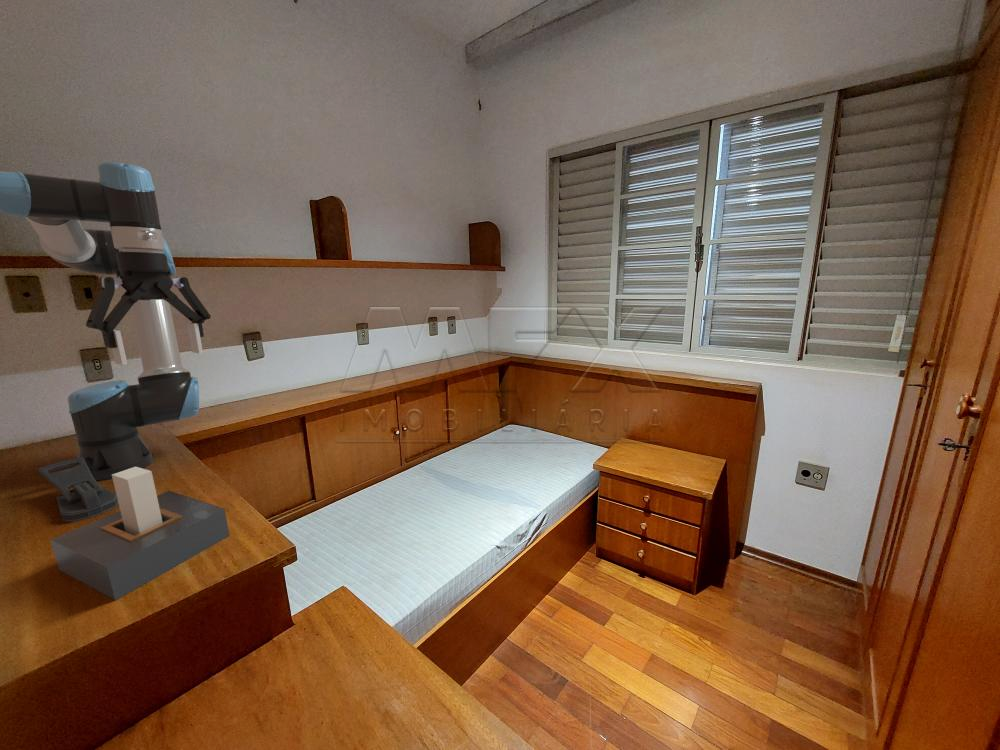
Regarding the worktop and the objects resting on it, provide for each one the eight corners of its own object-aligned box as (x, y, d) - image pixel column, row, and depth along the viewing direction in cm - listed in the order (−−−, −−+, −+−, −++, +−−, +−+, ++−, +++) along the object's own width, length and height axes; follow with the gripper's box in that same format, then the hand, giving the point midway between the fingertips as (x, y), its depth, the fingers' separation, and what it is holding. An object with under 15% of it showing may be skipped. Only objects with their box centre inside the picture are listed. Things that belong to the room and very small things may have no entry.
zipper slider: (85, 455, 102) (117, 479, 89) (91, 478, 103) (123, 506, 90) (32, 468, 94) (58, 497, 81) (39, 493, 96) (67, 526, 83)
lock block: (59, 569, 70) (49, 538, 68) (174, 516, 86) (168, 489, 85) (115, 600, 63) (106, 565, 62) (229, 535, 79) (224, 507, 78)
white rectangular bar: (130, 554, 74) (111, 474, 70) (153, 542, 77) (135, 466, 74) (146, 560, 72) (127, 479, 68) (168, 549, 75) (151, 471, 72)
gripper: (62, 246, 66) (92, 372, 71) (219, 254, 88) (233, 349, 93) (41, 247, 69) (72, 367, 74) (198, 255, 91) (213, 347, 96)
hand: (162, 358), depth 83 cm, fingers open, 13 cm apart
